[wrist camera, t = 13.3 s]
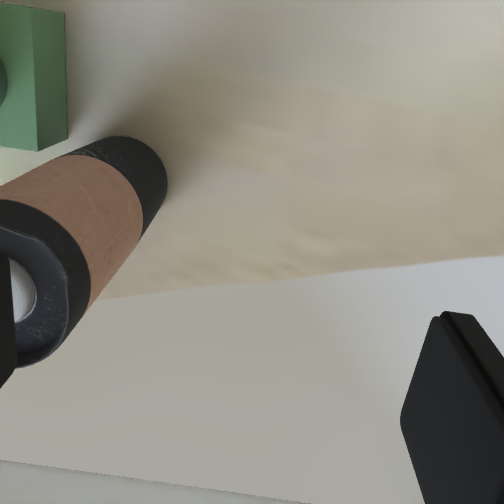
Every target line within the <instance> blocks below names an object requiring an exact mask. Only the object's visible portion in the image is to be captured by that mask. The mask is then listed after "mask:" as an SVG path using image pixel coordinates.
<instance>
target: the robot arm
mask: <svg viewBox="0 0 504 504" xmlns="http://www.w3.org/2000/svg"><path fill="white" fill-rule="evenodd" d="M16 364H17V345H16V332H15V320H14V308H13V295H12V283H11V271H10V261H9V258H8V257H7V256H6V255H3V254H2V252H1V250H0V388H1V387H2V386H3V384H4V383H5V382H6V381H7V379H8V378H9V377H10V376H11V375H12V373H13V371H14V369H15V367H16ZM400 425H401V430H402V433H403V436H404V439H405V442H406V445H407V448H408V452H409V455H410V458H411V461H412V464H413V467H414V470H415V473H416V477H417V480H418V483H419V486H420V489H421V492H422V495H423V499H424V502H425V504H504V357H503V356H502V354H501V353H500V352H499V350H498V349H497V347H496V346H495V345H494V343H493V342H492V341H491V339H490V338H489V336H488V335H487V334H486V332H485V331H484V329H483V328H482V327H481V326H480V324H479V323H478V322H477V320H476V319H475V317H474V316H473V315H470V314H463V313H456V312H449V311H444V312H442V314H441V315H440V317H438V316H435V317H433V318H432V320H431V322H430V325H429V328H428V331H427V334H426V337H425V341H424V343H423V347H422V349H421V352H420V356H419V359H418V362H417V365H416V368H415V371H414V374H413V377H412V380H411V383H410V386H409V389H408V392H407V395H406V399H405V401H404V404H403V407H402V411H401V416H400ZM0 504H310V503H302V502H296V501H289V500H282V499H276V498H268V497H261V496H255V495H248V494H241V493H234V492H227V491H219V490H213V489H205V488H198V487H191V486H184V485H177V484H170V483H163V482H155V481H149V480H141V479H133V478H127V477H120V476H113V475H106V474H98V473H91V472H84V471H77V470H69V469H62V468H55V467H47V466H40V465H33V464H25V463H18V462H10V461H3V460H0Z"/></svg>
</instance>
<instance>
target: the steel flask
mask: <svg viewBox="0 0 504 504" xmlns="http://www.w3.org/2000/svg"><path fill="white" fill-rule="evenodd" d="M6 92H7V75H6V70H5V67H4V64H3V62H2V60H1V58H0V105H1V104H2V102H3V100H4V98H5V95H6Z"/></svg>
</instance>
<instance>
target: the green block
mask: <svg viewBox="0 0 504 504" xmlns="http://www.w3.org/2000/svg"><path fill="white" fill-rule="evenodd" d="M0 58H1V60H2V62H3V64H4V67H5V70H6V75H7V92H6V95H5V98H4V100H3V102H2V104H1V105H0V146H2V147H9V148H16V149H23V150H30V151H37V152H38V151H40V150H43V149H45V148H48V147H50V146H52V145H55V144H57V143H59V142H62V141H64V140H66V139H67V102H66V62H65V22H64V13H62V12H56V11H50V10H44V9H37V8H31V7H24V6H17V5H10V4H3V3H0Z"/></svg>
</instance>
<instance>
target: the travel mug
mask: <svg viewBox="0 0 504 504" xmlns="http://www.w3.org/2000/svg"><path fill="white" fill-rule="evenodd" d="M166 192H167V175H166V171H165V168H164V166H163V163H162V162H161V160H160V158H159V157H158V156H157V154H156V153H155V152H154V151H153V150H152V149H151V148H150V147H149V146H147V145H146V144H144V143H143V142H141V141H139V140H137V139H134V138H131V137H126V136H112V137H108V138H104V139H102V140H99V141H96V142H94V143H91V144H89V145H86V146H84V147H81V148H79V149H77V150H74V151H72V152H69V153H67V154H64V155H62V156H60V157H57V158H55V159H52V160H50V161H49V162H47V163H45V164H43V165H41V166H39V167H37V168H35V169H33V170H31V171H29V172H27V173H25V174H23V175H21V176H20V177H18V178H16V179H14V180H12V181H10V182H8V183H6V184H4V185H2V186H0V250H1V252H2V254H3V255H6V256H7V257H8V258H9V261H10V271H11V283H12V295H13V308H14V320H15V332H16V345H17V364H16V367H15V369H16V368H22V367H26V366H30V365H33V364H35V363H37V362H40V361H42V360H43V359H45V358H46V357H48V356H49V355H51V354H52V353H53V352H54V351H55V350H56V349H57V348H58V347H59V346H60V345H61V344H62V343H63V342H64V340H65V339H66V338H67V336H68V335H69V334H70V332H71V331H72V330H73V329H74V327H75V326H76V325H77V323H78V322H79V321H80V319H81V318H82V317H83V315H84V314H85V313H86V311H87V310H88V309H89V307H90V306H91V305H92V303H93V302H94V301H95V300H96V298H97V297H98V296H99V294H100V293H101V292H102V290H103V289H104V288H105V286H106V285H107V284H108V282H109V281H110V280H111V278H112V277H113V276H114V274H115V273H116V272H117V271H118V269H119V268H120V267H121V265H122V264H123V263H124V261H125V260H126V259H127V257H128V256H129V255H130V253H131V252H132V251H133V249H134V248H135V246H136V245H137V243H138V242H139V240H140V239H141V237H142V236H143V234H144V232H145V231H146V229H147V228H148V226H149V224H150V223H151V221H152V220H153V218H154V216H155V215H156V213H157V212H158V210H159V208H160V207H161V205H162V203H163V201H164V199H165V196H166Z"/></svg>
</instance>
